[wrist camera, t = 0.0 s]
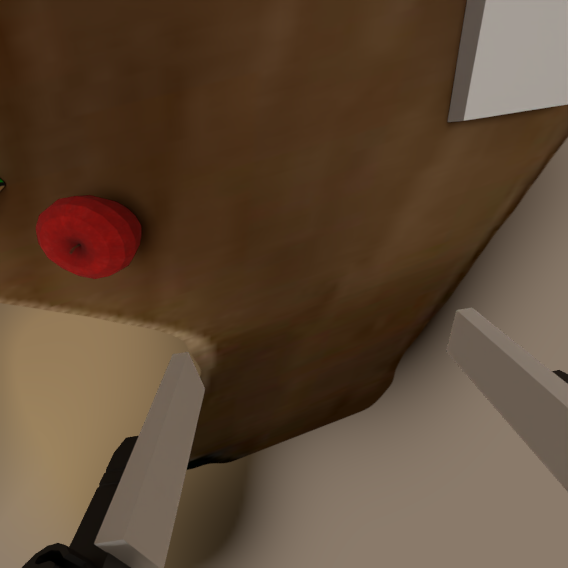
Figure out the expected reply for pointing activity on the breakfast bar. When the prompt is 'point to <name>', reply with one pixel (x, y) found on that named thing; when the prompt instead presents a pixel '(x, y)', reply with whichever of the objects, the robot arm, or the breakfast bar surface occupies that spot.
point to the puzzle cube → (1, 184)
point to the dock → (511, 58)
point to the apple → (89, 235)
